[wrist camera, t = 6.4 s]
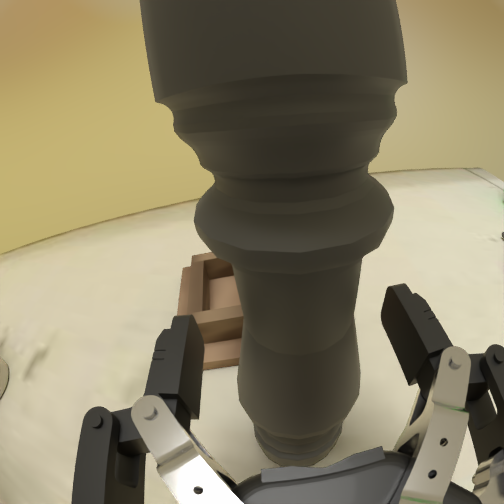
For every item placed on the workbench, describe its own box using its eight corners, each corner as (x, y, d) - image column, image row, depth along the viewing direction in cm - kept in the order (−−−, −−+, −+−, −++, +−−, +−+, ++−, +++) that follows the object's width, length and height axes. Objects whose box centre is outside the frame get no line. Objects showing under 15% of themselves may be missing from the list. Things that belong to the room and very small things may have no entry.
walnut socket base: (176, 372, 24) (160, 347, 22) (185, 274, 37) (176, 249, 35) (339, 342, 24) (344, 313, 22) (298, 253, 38) (297, 227, 35)
